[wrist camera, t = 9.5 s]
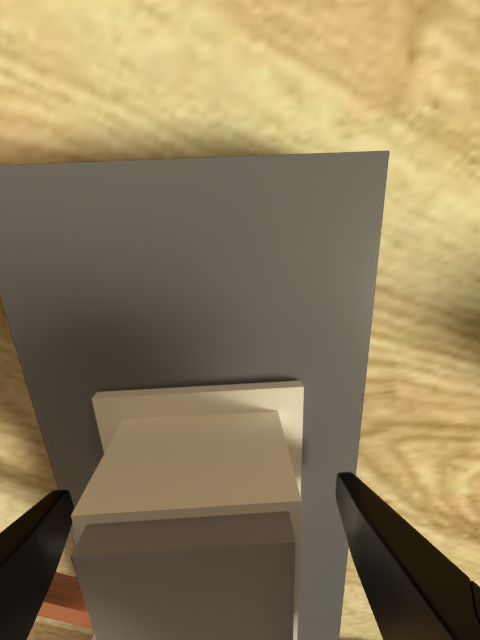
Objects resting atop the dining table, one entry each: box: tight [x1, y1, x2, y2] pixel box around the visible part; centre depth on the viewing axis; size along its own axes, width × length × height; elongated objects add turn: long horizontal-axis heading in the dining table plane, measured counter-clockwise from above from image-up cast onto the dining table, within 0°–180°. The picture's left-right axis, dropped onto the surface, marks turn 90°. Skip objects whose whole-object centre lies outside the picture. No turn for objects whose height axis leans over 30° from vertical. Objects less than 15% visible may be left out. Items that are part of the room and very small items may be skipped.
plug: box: [71, 381, 304, 640], centre depth 9 cm, size 6×6×6 cm
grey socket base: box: [0, 151, 389, 640], centre depth 11 cm, size 22×10×4 cm, turn 2°
